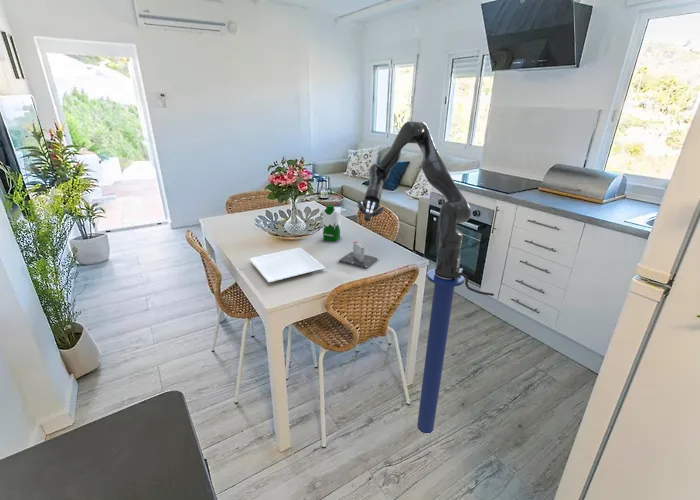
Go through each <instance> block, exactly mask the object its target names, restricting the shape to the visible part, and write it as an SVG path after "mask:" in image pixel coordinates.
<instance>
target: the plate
mask: <svg viewBox="0 0 700 500" xmlns="http://www.w3.org/2000/svg"><path fill="white" fill-rule="evenodd" d="M248 260H249V261H250V262H251V263H252V264H253V266H254V267H255V268H256V269H257V271H258V272H259V273H260V274H261V275H262V276H263V278H264V279H265V281H267V283H273V282H278V281H281V280H285V279H290V278H293V277H297V276H301V275H304V274H308V273H312V272H317V271H320V270H324V269H326V267H325V266H324V265H323V264H322V263H321V262H319V261H318V260H317V259H315V258H314V257H313V256H312V255H311V254H309V252H307V251H305V249H303V248H302V247H296V248H295V247H294V248H291V249H286V250H282V251H277V252H273V253H272V252H271V253H267V254H263V255H258V256H254V257H253V256H252V257H249V258H248Z"/></svg>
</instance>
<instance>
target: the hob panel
mask: <svg viewBox="0 0 700 500" xmlns="http://www.w3.org/2000/svg"><path fill="white" fill-rule="evenodd" d="M377 261H378V257H376V256H372V255H369V254H368V255H367V254H365V253H364V262H360V261H359V260H358V259H356V258H355V257H354V256H353V251H350V252H349V253H347V254H346V255H344V256H343V257H341V258H340V259H338V262H339V263H341V264H345V265H348V266H352V267H356V268H362V269H366V270H367V268H370V266H372V265H373V264H375V262H377Z"/></svg>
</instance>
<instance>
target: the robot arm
mask: <svg viewBox="0 0 700 500" xmlns="http://www.w3.org/2000/svg"><path fill="white" fill-rule="evenodd" d="M407 144H416V145H417V146H418V147H419V149H420V152H421V153H422V157H421V170H422V172H423V174H424V176H425V179H426V180H427V182H428V183H429V185H431V187H433V188H434V189H436V190H437V191H438V192H439V193H441V194H442V196H444V197H445V199H446V200H447V201H446V202H444V203H442V205H441V207H440V208H439V218H438V233H439V237H438V245H437V252H436V253H437V254H436V262H435V268H436V269H435V268H434V269H435V276H436V277H437V278H439V279H442V280H453V281H455V279H456V278H460V277H461V276H463V277H464V278H465V279H464V282H465V283H464V284H465V287H466V288H467V290H469V291H471V292H474V293H476V294H479V295H484V296H491V297H494V296H495V293H493V292H486V291H482V290H478V289H475V288H472V287H470V286H469V277H468V276H467V275H466V274H465V273H463V272H464V269H463V268H460V264H461V258H462V256H461V251H462V243H463V238H464V234H463V232H461V231H460V230H458V229H457V224H461V223H465V222H467V221H469V220H470V218H471V216H472V211H471V207H470V205H469V203H468V200H467V199H466V198H465V197H464V195H463V194H462V192H461V191H460V189H459V188H458V186H457V185H456V183H455V181H454V179H453V178H452V176H451V174H450V172H449V170H448V168H447V166H446V164H445V162H444V160H443V159H442V157H441V155H440V154H439V151H438V149H437V147H436V145H435V143H434V141H433V138H432V135H431V132H430V130H429V128H428V125H427V124H426V123H425V122H421V121H413V120H411V121H406V122H405V123H403V125H402V126H401V127H400V129H399V131H398V133H397V135H396V137H395V138H394V140H393V143H392V144H391V146H390V147H389V149H387V150H388V151H387V152H386V153H385V154H384V156H382V157H381V159H380V161H379V164H378V163H373V164H372V165H370V167H369V169H368V181H369V183H368V186H367V189H366V191H365V195H364V199H363V200H362V201H360V200H358V202H357V204H356V206H357V207H358V209H359V211H360V213H361V214H363V215H364V217H363V220H364V222H367V223H368V222H370V221H371V218H372V217H373V218H374V217H376V216H378V215H380V214H382V213H383V211H384V207H381V204H380V202H381V198H382V194H383V187H384V182H386V181H387V180H388V178H389V176H390V173H391V171H392V169H393V168H394V167H395V166H396V165H397V163H398V162H399V161H400V160H401V155H402V149H403V148H404V147H406V145H407Z"/></svg>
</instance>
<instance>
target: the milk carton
mask: <svg viewBox="0 0 700 500" xmlns="http://www.w3.org/2000/svg"><path fill="white" fill-rule="evenodd" d="M341 209H342V207H339V206H335V205H333V204H327V205H325V207H324V208H323V209H321V210H322V211H321V212H322V239H323V241H325V242H332V243H337V241H338V240H339V239H341Z"/></svg>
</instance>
